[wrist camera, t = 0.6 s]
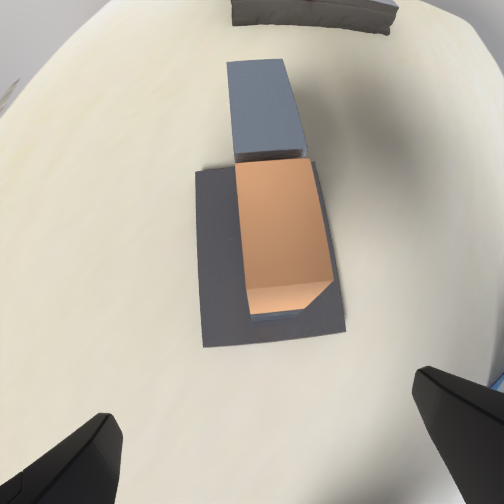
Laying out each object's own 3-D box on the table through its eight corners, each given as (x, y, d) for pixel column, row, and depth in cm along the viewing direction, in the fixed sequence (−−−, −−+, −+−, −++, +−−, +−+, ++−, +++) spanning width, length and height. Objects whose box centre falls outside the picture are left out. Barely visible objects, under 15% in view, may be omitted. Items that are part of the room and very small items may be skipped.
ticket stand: (341, 332, 22) (426, 307, 10) (205, 347, 21) (147, 340, 10) (312, 169, 26) (341, 55, 14) (197, 179, 26) (163, 66, 14)
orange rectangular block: (303, 309, 17) (333, 279, 10) (250, 315, 17) (246, 289, 10) (292, 227, 19) (309, 158, 12) (242, 231, 19) (234, 163, 12)
